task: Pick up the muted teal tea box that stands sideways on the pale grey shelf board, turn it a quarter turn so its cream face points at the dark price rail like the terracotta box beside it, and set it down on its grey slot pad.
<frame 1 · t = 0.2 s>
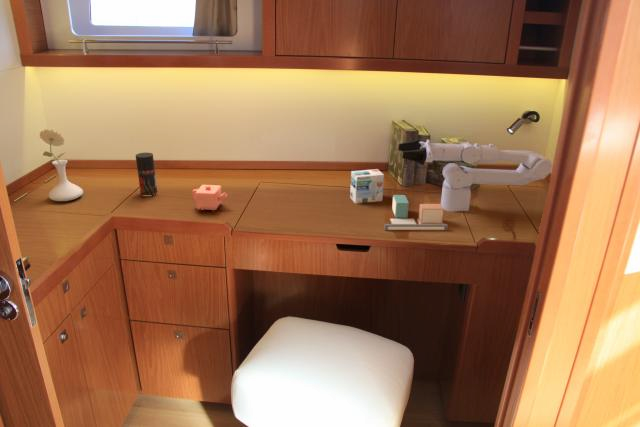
hand: (400, 150, 172), 21 cm above the table, tool horizontal, fingers open, 7 cm apart
shelf board: (410, 220, 172), on the table
teal box: (399, 213, 176), point 1 cm above the table, touching shelf board
pink cube teapot: (211, 208, 180), on the table
light bulb box: (366, 201, 188), on the table
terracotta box: (430, 221, 170), point 1 cm above the table, touching shelf board
flower in vase: (65, 198, 187), on the table
deodorant: (149, 194, 191), on the table
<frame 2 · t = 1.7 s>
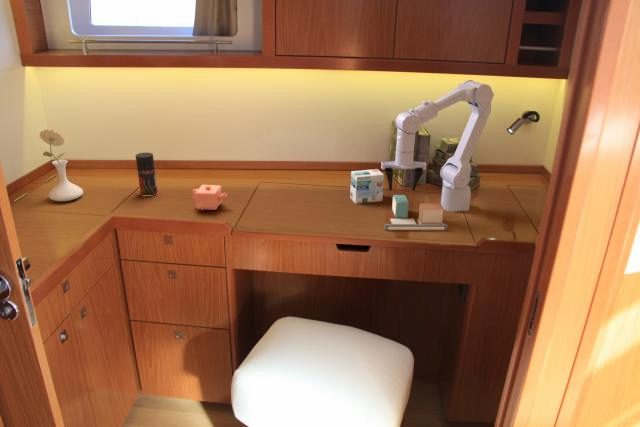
hand: (401, 189, 172), 10 cm above the table, tool pointing down, fingers open, 7 cm apart
nothing on the table moved.
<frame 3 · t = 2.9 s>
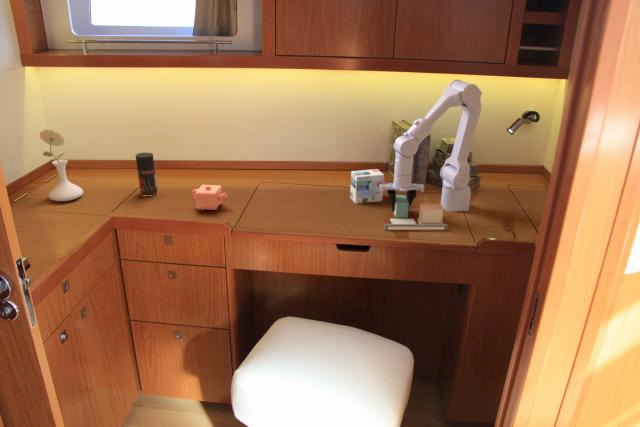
hand: (399, 210, 175), 2 cm above the table, tool pointing down, fingers closed on teal box, 4 cm apart
teal box: (399, 213, 176), point 1 cm above the table, touching gripper, shelf board
everything else where it was.
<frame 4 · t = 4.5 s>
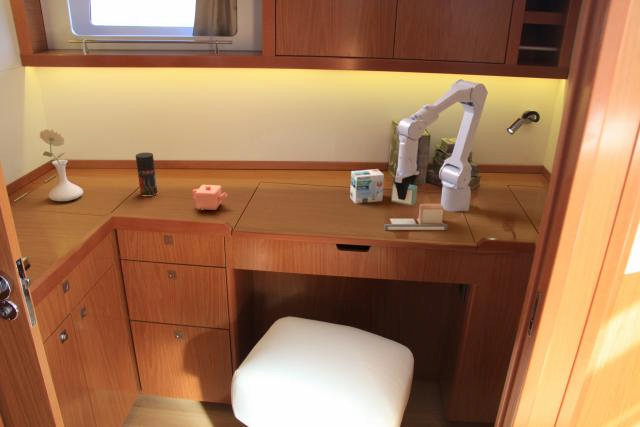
hand: (404, 196, 168), 9 cm above the table, tool pointing down, fingers closed on teal box, 4 cm apart
teal box: (403, 201, 169), point 7 cm above the table, touching gripper
everything else where it was.
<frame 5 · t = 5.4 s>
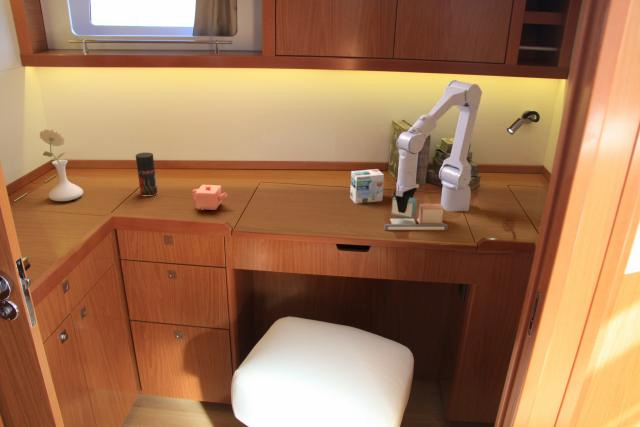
hand: (404, 209, 168), 5 cm above the table, tool pointing down, fingers closed on teal box, 4 cm apart
teal box: (403, 214, 169), point 3 cm above the table, touching gripper
everything else where it was.
when the fingers open (3 cm above the table, at t = 6.2 s): teal box stays where it is, resting on shelf board.
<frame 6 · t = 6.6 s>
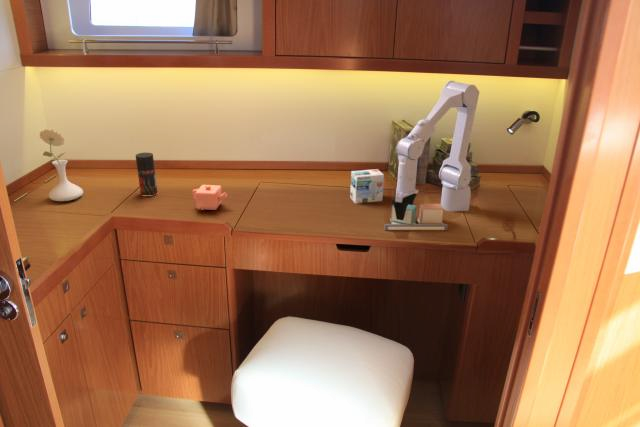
hand: (403, 215, 169), 3 cm above the table, tool pointing down, fingers open, 7 cm apart
teal box: (402, 221, 170), point 1 cm above the table, touching shelf board
everything else where it was.
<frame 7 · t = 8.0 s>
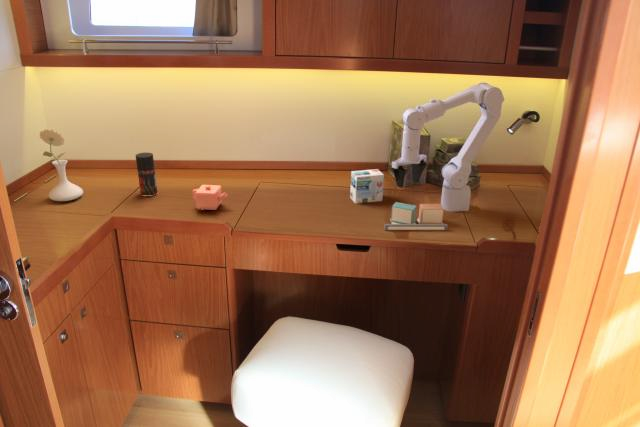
hand: (407, 184, 176), 10 cm above the table, tool pointing down, fingers open, 7 cm apart
nothing on the table moved.
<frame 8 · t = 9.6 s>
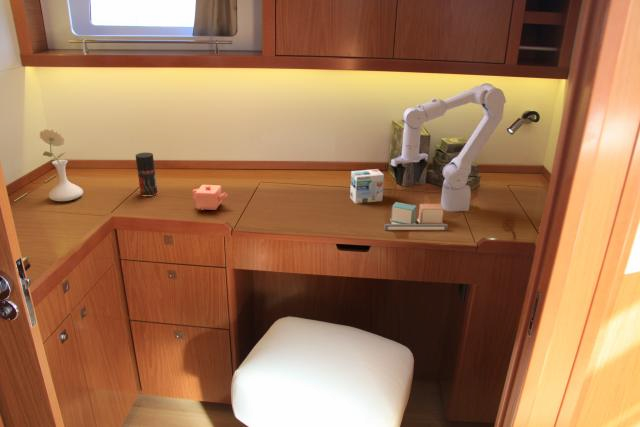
hand: (407, 182, 177), 10 cm above the table, tool pointing down, fingers open, 7 cm apart
nothing on the table moved.
at the end: teal box 0.2 cm from the target spot, point 0.7 cm above the table; teal box tilted 0°; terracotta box moved 0.0 cm from its start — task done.
